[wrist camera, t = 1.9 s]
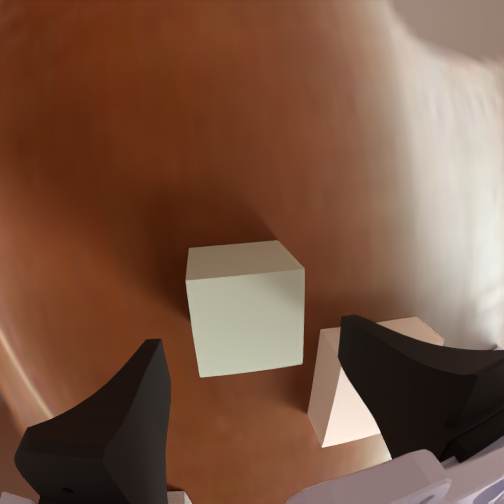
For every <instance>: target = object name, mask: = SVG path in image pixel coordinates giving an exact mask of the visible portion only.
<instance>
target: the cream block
mask: <svg viewBox="0 0 504 504" xmlns="http://www.w3.org/2000/svg"><path fill="white" fill-rule="evenodd" d="M376 323H377V324H380V325H382V326H384V327H386V328H389V329H391V330H393V331H396V332H398V333H401V334H403V335H406V336H409V337H412V338H414V339H417V340H421V341H424V342H428V343H431V344H435V345H440V346H443V344H444V341H445V340H444V339H443V338H442V337H441V336H440V335H438V334H437V333H436V332H435V331H433V330H432V329H431V328H430V327H429V326H427V325H426V324H425V323H424V322H422V321H421V320H420V319H419V318H417V317H416V316H415V317H409V318H403V319H396V320H390V321H383V322H376ZM340 328H341V327H337V328H328V329H320V337H319V344H318V351H317V358H316V365H315V372H314V378H313V384H312V390H311V396H310V402H309V408H308V413H307V415H308V417H309V419H310V422H311V424H312V426H313V429H314V431H315V433H316V435H317V438H318V440H319V442H320V444H321V447H322V448H323V447H327V446H332V445H337V444H341V443H345V442H349V441H353V440H357V439H361V438H365V437H368V436H372V435H376V434H379V433H381V432H380V430H379V428H378V426H377V424H376V422H375V420H374V418H373V416H372V415H371V413H370V411H369V410H368V408H367V407H366V405H365V404H364V402H363V401H362V399H361V398H360V396H359V395H358V393H357V392H356V390H355V389H354V387H353V386H352V384H351V383H350V381H349V380H348V378H347V377H346V375H345V373H344V371H343V369H342V366H341V364H340V362H339V359H338V348H339V339H340Z"/></svg>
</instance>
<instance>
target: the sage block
mask: <svg viewBox="0 0 504 504" xmlns="http://www.w3.org/2000/svg"><path fill="white" fill-rule="evenodd" d="M186 288H187V296H188V303H189V310H190V317H191V324H192V331H193V337H194V344H195V350H196V356H197V362H198V368H199V374H200V377H209V376H219V375H229V374H237V373H246V372H253V371H261V370H268V369H275V368H281V367H287V366H294V365H299V364H302V363H303V337H304V300H305V268H304V267H303V266H302V265H301V264H300V263H299V262H298V261H297V260H296V259H295V258H294V257H293V256H292V255H291V253H290V252H289V251H288V250H287V249H286V248H285V247H284V246H283V245H282V244H281V243H280V242H279V241H278V240H276V241H264V242H253V243H241V244H230V245H218V246H207V247H196V248H189V252H188V261H187V271H186Z"/></svg>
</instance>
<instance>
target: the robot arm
mask: <svg viewBox="0 0 504 504" xmlns="http://www.w3.org/2000/svg"><path fill="white" fill-rule="evenodd" d="M338 359H339V362H340V364H341V366H342V369H343V371H344V373H345V375H346V377H347V378H348V380H349V381H350V383H351V384H352V386H353V387H354V389H355V390H356V392H357V393H358V395H359V396H360V398H361V399H362V401H363V402H364V404H365V405H366V407H367V408H368V410H369V411H370V413H371V415H372V416H373V418H374V420H375V422H376V424H377V426H378V428H379V430H380V432H381V434H382V436H383V439H384V441H385V443H386V445H387V448H388V450H389V452H390V455H391V458H392V460H389V461H387V462H384V463H381V464H379V465H376V466H373V467H370V468H367V469H364V470H361V471H358V472H355V473H352V474H348V475H345V476H342V477H338V478H335V479H331V480H328V481H324V482H321V483H319V484H316V485H313V486H310V487H308V488H305V489H303V490H301V491H300V492H298V493H297V494H295V495H293V496H292V497H290V498H289V499H288V500H287V501H286V503H285V504H504V350H502V348H500V347H498V348H496V349H493V350H466V349H457V348H451V347H445V346H440V345H435V344H431V343H428V342H424V341H421V340H417V339H414V338H412V337H409V336H406V335H403V334H401V333H398V332H396V331H393V330H391V329H389V328H386V327H384V326H382V325H380V324H377V323H375V322H373V321H370V320H368V319H366V318H363V317H361V316H358V315H355V314H354V315H349V316H343V317H341V328H340V339H339V348H338ZM170 403H171V380H170V375H169V371H168V367H167V362H166V358H165V353H164V349H163V344H162V339H148V340H145V342H144V343H143V344H142V345H141V346H140V347H139V349H138V350H137V351H136V352H135V353H134V355H133V356H132V357H131V358H130V359H129V361H128V362H127V363H126V364H125V365H124V366H123V367H122V368H121V369H120V371H119V372H118V373H117V374H116V375H115V376H114V377H113V378H112V379H111V380H110V381H109V382H108V383H106V384H105V385H104V386H103V387H102V388H101V389H99V390H98V391H97V392H96V393H94V394H93V395H92V396H90V397H89V398H87V399H86V400H84V401H83V402H81V403H80V404H78V405H77V406H75V407H74V408H72V409H70V410H68V411H66V412H65V413H63V414H61V415H58V416H56V417H54V418H52V419H50V420H47V421H45V422H42V423H39V424H37V425H34V426H31V427H28V428H27V429H26V431H25V433H24V436H23V438H22V440H21V442H20V445H19V447H18V449H17V452H16V454H15V458H14V462H15V465H16V467H17V469H18V470H19V472H20V473H21V475H22V476H23V477H24V478H25V480H26V481H27V482H28V483H29V484H30V485H31V487H32V488H33V489H34V490H35V491H36V492H37V493H38V494H39V495H40V499H39V503H38V504H168V497H167V483H166V461H165V450H166V438H167V429H168V420H169V412H170ZM0 504H37V503H36V502H34V501H32V500H30V499H27V498H24V497H20V496H17V495H14V494H10V493H7V492H3V493H2V495H1V498H0Z"/></svg>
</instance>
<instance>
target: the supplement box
mask: <svg viewBox="0 0 504 504" xmlns="http://www.w3.org/2000/svg"><path fill="white" fill-rule="evenodd" d="M167 497H168V504H192V503H191V501H190V499H189V498H188V496H187V495H186V493H185V492H184V491H168V492H167Z"/></svg>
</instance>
